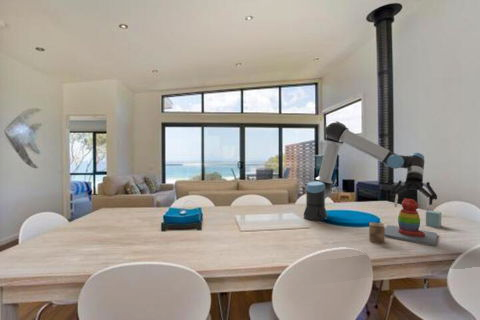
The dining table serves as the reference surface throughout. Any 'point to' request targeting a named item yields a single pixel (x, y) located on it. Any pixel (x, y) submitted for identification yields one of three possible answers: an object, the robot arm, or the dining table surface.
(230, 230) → the dining table surface
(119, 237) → the dining table surface
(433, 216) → the grey-teal block
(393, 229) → the slate board
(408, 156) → the robot arm
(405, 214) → the stacking bear
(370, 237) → the walnut block
